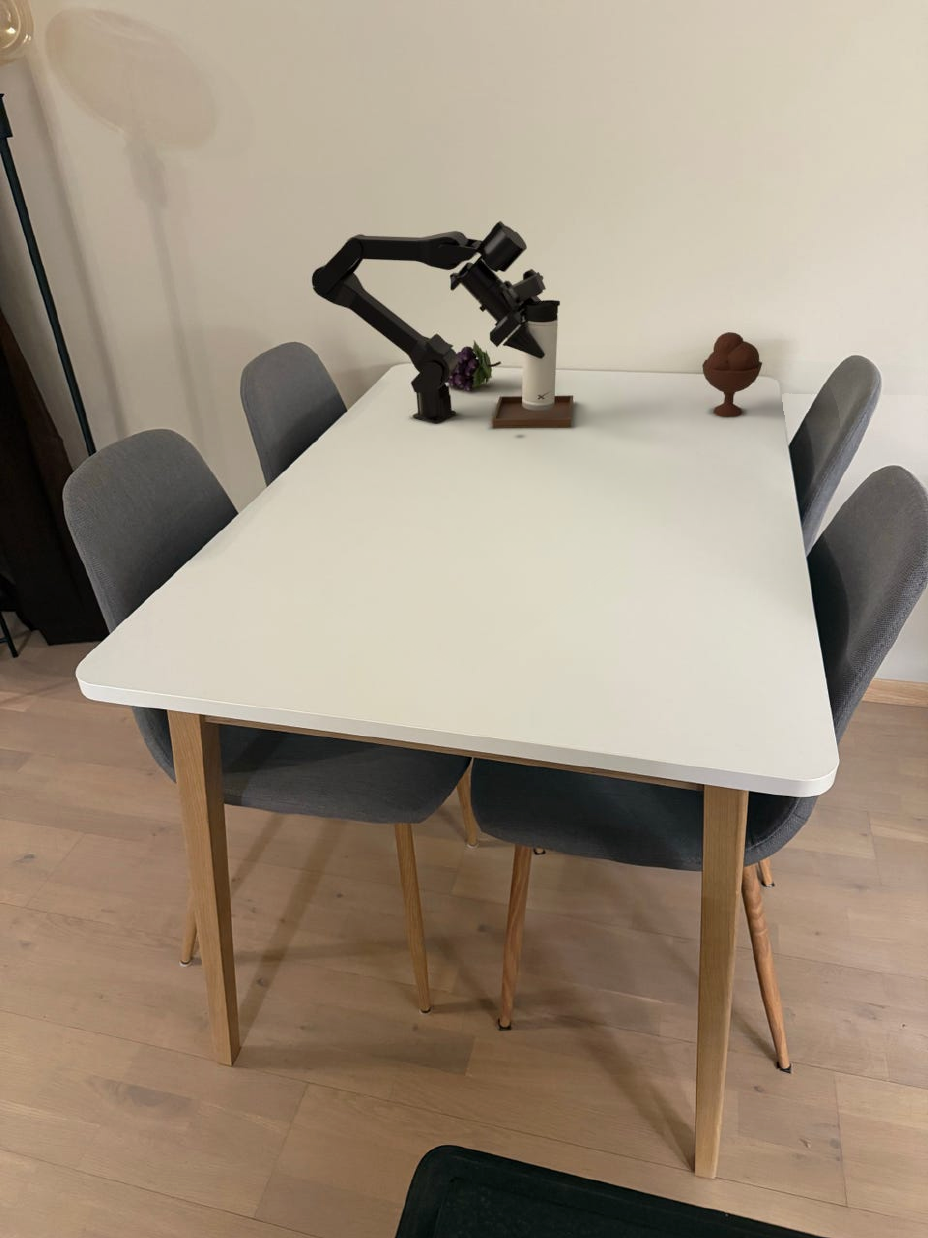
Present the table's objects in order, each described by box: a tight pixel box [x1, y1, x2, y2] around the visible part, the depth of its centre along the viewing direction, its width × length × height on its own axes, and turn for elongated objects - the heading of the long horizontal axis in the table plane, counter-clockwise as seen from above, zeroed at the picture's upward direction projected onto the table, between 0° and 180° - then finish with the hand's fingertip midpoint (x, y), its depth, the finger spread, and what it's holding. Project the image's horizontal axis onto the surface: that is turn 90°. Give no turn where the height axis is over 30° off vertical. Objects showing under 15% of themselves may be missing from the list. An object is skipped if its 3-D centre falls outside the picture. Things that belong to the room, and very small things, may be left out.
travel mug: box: [521, 299, 561, 411], centre depth 171 cm, size 6×7×20 cm
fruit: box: [445, 340, 502, 392], centre depth 195 cm, size 10×11×15 cm
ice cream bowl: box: [701, 331, 763, 418], centre depth 172 cm, size 11×11×15 cm
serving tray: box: [491, 394, 574, 429], centre depth 180 cm, size 15×14×2 cm
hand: (546, 351), depth 170 cm, fingers closed on travel mug, 6 cm apart
